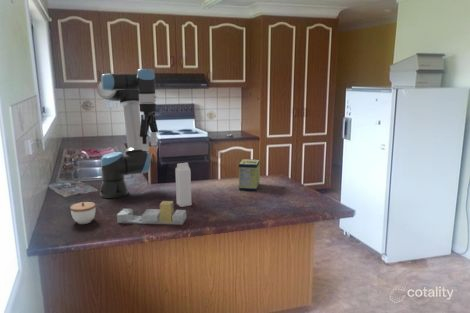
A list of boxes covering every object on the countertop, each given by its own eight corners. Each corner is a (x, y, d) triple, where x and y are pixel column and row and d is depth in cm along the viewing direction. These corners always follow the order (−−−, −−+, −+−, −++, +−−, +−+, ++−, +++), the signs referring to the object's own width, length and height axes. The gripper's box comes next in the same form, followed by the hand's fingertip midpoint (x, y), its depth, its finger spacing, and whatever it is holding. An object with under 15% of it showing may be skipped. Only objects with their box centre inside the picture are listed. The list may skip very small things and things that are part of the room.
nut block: (171, 221, 172) (170, 204, 171) (160, 221, 173) (159, 204, 171) (173, 217, 177) (173, 201, 175) (163, 217, 177) (162, 200, 176)
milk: (191, 205, 196) (190, 163, 191) (180, 207, 193) (179, 165, 189) (187, 201, 201) (186, 161, 197) (176, 203, 198) (174, 162, 194)
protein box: (259, 183, 234) (259, 159, 231) (256, 191, 219) (256, 165, 216) (242, 183, 236) (242, 158, 233) (238, 190, 221) (238, 164, 218)
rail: (117, 223, 173) (116, 214, 172) (123, 216, 180) (123, 208, 180) (182, 224, 170) (182, 216, 170) (186, 218, 178) (186, 209, 177)
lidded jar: (76, 217, 180) (74, 198, 178) (99, 216, 181) (97, 198, 179) (68, 226, 169) (66, 206, 167) (93, 225, 170) (91, 205, 168)
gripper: (147, 105, 164) (150, 153, 168) (162, 101, 188) (164, 143, 193) (130, 105, 165) (133, 153, 169) (147, 101, 189) (150, 143, 193)
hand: (150, 148), depth 181 cm, fingers open, 13 cm apart
